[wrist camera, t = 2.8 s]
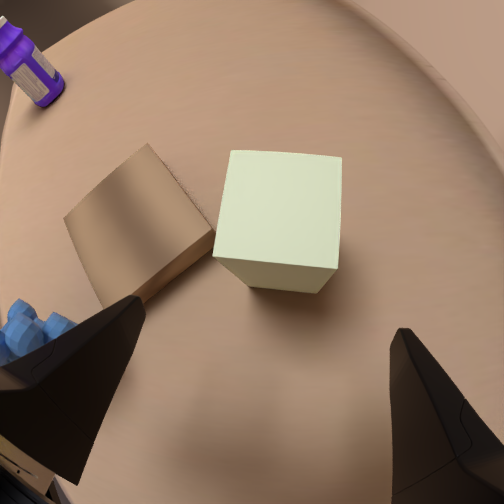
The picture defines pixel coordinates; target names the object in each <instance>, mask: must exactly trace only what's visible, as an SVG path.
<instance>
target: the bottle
mask: <svg viewBox="0 0 504 504" xmlns="http://www.w3.org/2000/svg"><path fill="white" fill-rule="evenodd" d="M0 68H1V69H2V71H3V72H4V73H5V74H6V75H8V76H9V77H10V78H11V79H12V80H13V81H14V82H15V83H16V84H17V85H18V86H19V87H20V88H21V89H22V90H23V91H24V92H25V93H26V94H27V95H28V96H29V97H30V98H31V99H32V100H33V101H34V103H35V104H36V105H38V106H41V107H45V106H47V105H48V104H49V103H51V102H52V101H53V100H54V99H55V98H56V97H57V96H58V95H59V94H60V93H61V91H62V89H63V86H64V81H63V78H62V76H61V75H60V73H59V72H57V70H56V69H55V68H54V67H53V66H52V65H51V64H50V62H49V61H48V60H47V59H46V58H45V57H44V56H43V54H42V53H41V52H40V51H39V50H38V48H37V47H36V46H35V45H34V43H33V42H32V41H31V40H30V39H29V38H28V37H26V36H25V35H23V30H22V29H21V28H16V27H14V26H12V25H11V24H10V23H9V22H8V21H7V20H6V19H5V18H4V16H2V17H1V18H0Z"/></svg>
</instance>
